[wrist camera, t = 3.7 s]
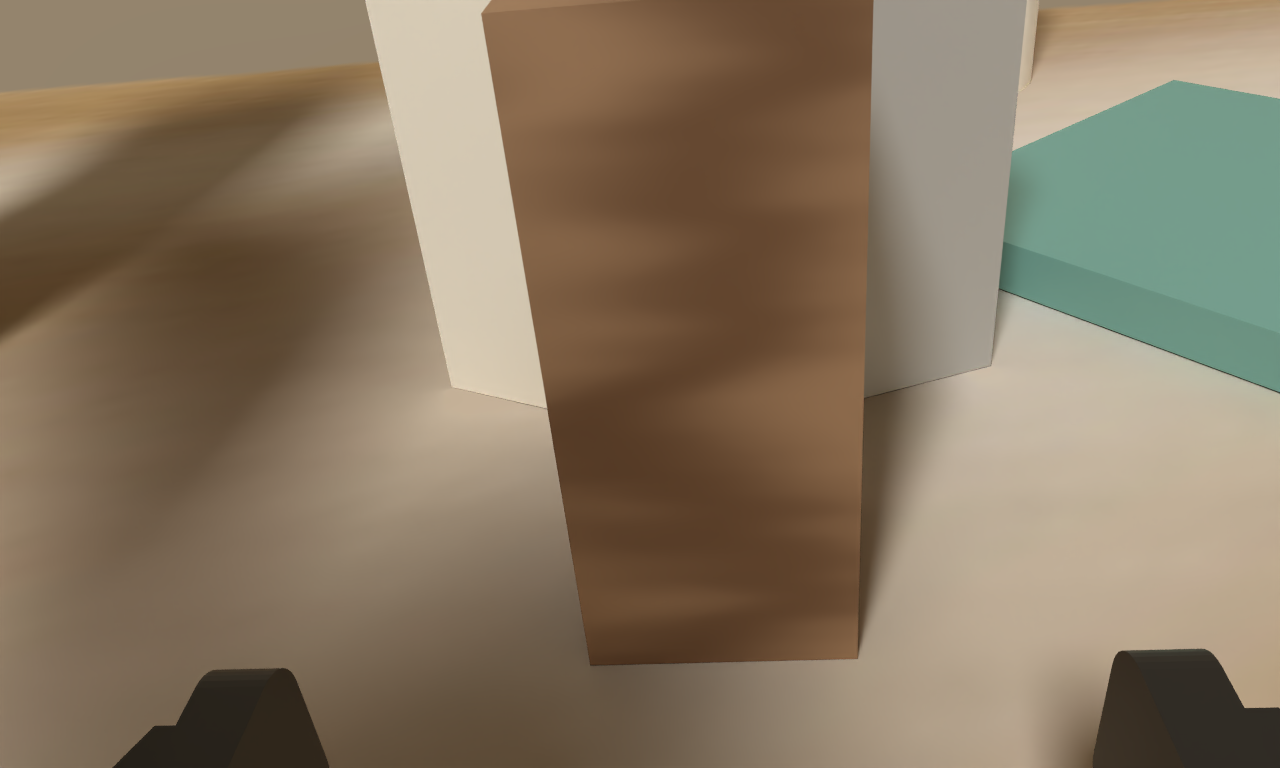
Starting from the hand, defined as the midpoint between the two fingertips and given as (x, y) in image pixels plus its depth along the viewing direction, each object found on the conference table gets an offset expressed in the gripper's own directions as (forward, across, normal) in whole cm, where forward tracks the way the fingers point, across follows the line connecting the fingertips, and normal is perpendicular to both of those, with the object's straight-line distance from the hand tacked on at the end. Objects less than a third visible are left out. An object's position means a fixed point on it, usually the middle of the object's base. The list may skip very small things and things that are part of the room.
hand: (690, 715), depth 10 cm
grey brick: (+18, -4, +7) cm, 20 cm away
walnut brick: (+9, 0, +7) cm, 11 cm away
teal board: (+23, -17, +7) cm, 30 cm away
